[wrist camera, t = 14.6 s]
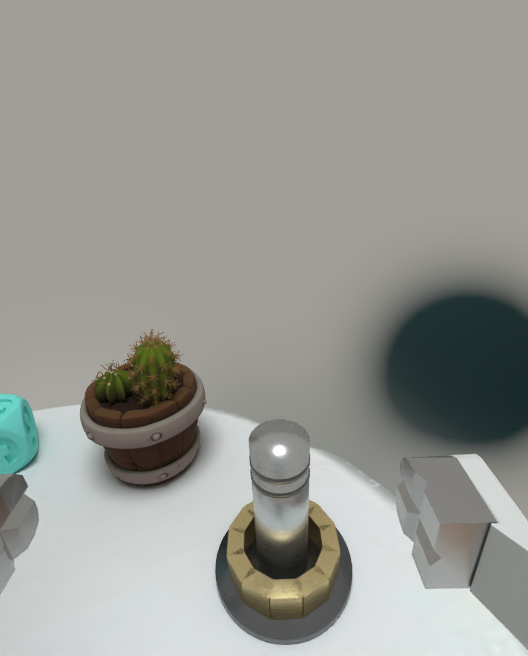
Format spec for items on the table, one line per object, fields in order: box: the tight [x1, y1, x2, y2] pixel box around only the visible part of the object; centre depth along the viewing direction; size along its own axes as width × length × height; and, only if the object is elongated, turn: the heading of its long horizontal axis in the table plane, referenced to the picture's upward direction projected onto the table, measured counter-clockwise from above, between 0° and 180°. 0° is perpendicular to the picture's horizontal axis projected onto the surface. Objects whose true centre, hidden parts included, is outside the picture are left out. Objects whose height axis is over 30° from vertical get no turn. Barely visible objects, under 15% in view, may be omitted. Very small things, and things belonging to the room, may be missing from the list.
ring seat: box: [216, 500, 352, 645], centre depth 36 cm, size 13×13×4 cm
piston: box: [249, 420, 310, 580], centre depth 33 cm, size 5×5×15 cm
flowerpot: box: [80, 331, 206, 486], centre depth 46 cm, size 14×15×20 cm
